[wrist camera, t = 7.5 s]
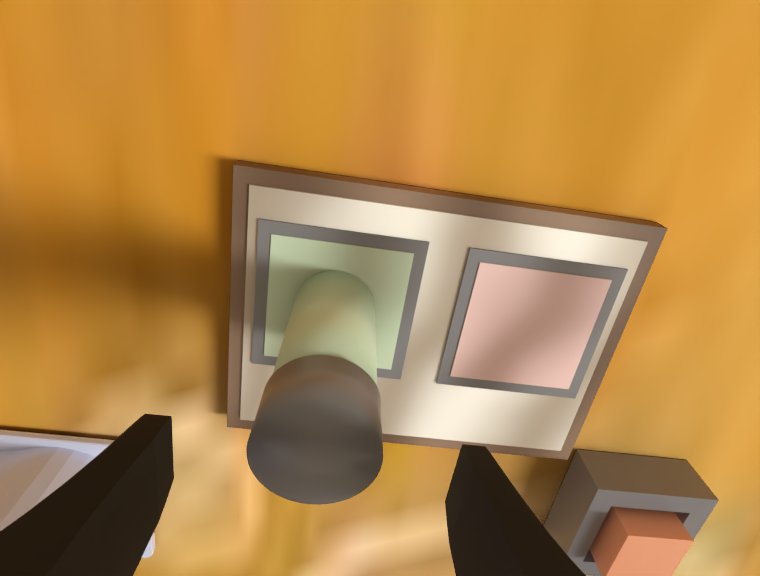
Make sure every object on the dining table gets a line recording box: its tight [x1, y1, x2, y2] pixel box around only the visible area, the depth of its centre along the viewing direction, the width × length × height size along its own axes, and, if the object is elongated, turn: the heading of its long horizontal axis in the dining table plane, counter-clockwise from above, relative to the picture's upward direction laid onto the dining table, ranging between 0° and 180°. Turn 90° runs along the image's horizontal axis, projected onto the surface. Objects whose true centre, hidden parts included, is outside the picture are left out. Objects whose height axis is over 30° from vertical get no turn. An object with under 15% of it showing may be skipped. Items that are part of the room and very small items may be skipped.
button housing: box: [544, 449, 719, 576], centre depth 25 cm, size 6×6×2 cm
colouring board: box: [227, 160, 667, 460], centre depth 21 cm, size 16×12×1 cm
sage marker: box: [247, 270, 383, 504], centre depth 16 cm, size 3×3×8 cm
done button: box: [590, 506, 694, 576], centre depth 24 cm, size 3×3×2 cm
